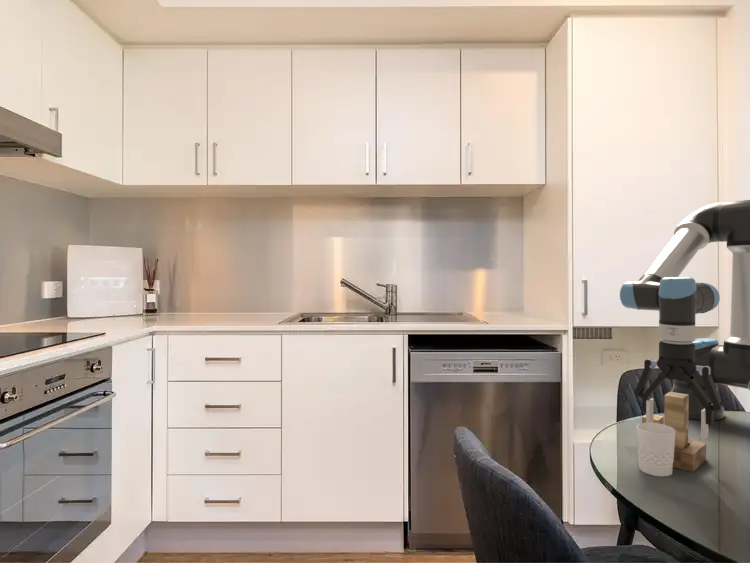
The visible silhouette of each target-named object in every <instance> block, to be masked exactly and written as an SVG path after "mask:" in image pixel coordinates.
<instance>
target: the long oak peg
mask: <svg viewBox="0 0 750 563" xmlns="http://www.w3.org/2000/svg"><path fill="white" fill-rule="evenodd" d="M688 408H689V395H688V394H681V393H675V392H671V391H669V392H667V393H666V394H664V416H663V417H664V425H667V426H670V427H672V428H674V429H675V431H676V433H675V447H677V448H682V449H685V448H686V447H688V439H689V418H688Z"/></svg>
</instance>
